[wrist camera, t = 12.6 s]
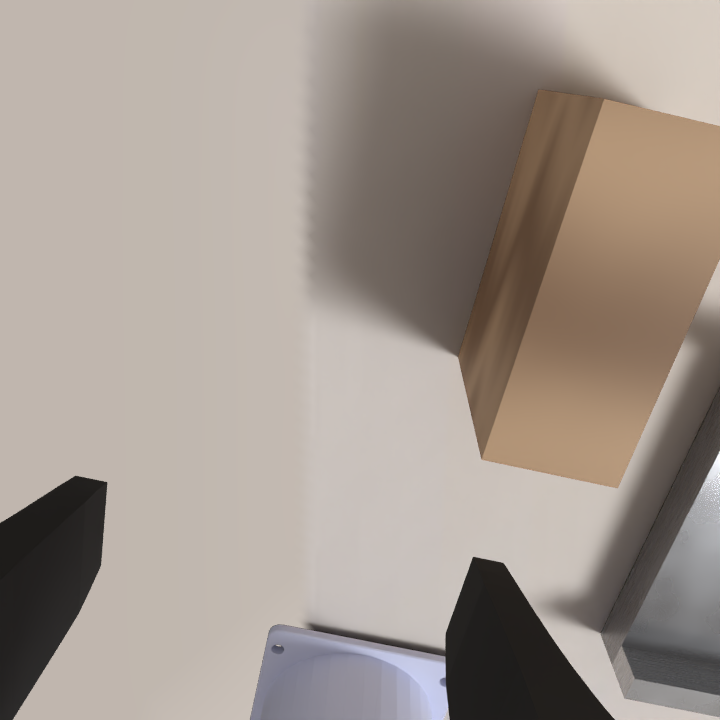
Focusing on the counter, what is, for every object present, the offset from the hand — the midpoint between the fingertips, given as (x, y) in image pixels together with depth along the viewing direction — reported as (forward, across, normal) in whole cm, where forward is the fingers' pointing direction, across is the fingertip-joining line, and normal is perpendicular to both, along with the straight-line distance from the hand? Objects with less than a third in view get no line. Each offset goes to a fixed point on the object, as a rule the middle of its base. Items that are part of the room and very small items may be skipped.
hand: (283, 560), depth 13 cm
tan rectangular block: (+10, -6, -5) cm, 13 cm away
